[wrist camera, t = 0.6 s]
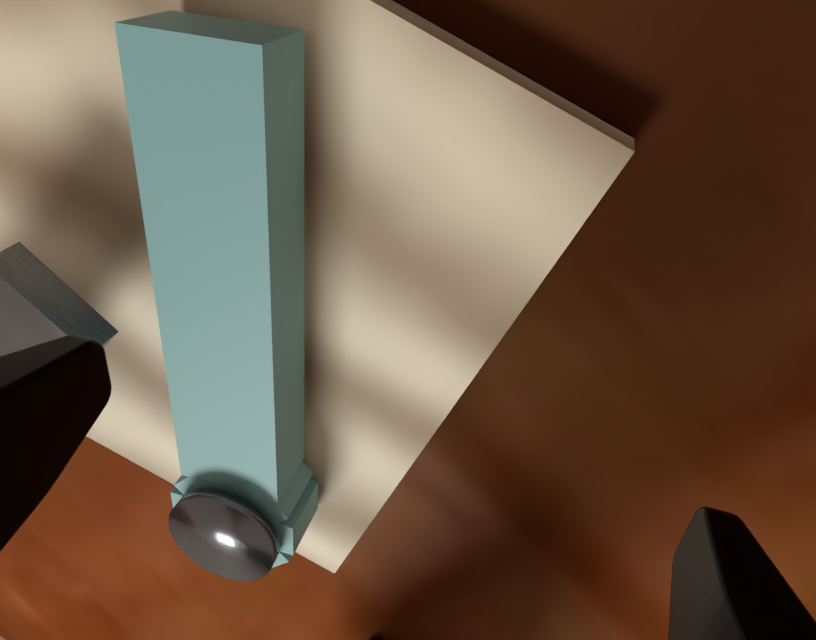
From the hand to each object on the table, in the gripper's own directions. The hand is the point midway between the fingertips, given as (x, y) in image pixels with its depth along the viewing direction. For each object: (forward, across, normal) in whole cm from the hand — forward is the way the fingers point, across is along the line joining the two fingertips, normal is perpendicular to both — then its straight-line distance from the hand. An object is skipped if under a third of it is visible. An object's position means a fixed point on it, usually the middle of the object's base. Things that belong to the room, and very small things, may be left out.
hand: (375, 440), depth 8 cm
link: (+12, +8, +8) cm, 16 cm away
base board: (+13, +12, +6) cm, 19 cm away
